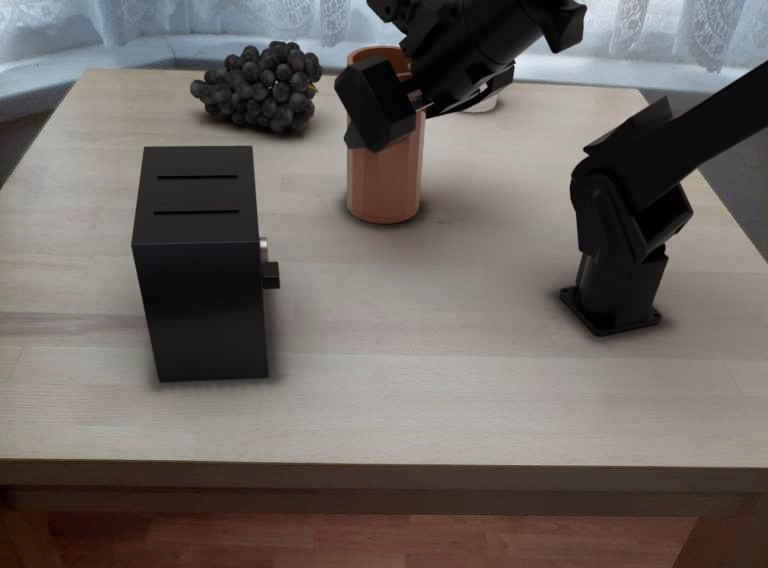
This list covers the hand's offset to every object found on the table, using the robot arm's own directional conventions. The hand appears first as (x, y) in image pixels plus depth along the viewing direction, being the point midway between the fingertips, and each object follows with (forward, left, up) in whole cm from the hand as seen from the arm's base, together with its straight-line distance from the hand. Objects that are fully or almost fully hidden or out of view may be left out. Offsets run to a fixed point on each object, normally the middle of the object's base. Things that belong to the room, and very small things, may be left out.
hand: (373, 131), depth 72 cm
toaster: (-15, +19, -7) cm, 26 cm away
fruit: (+21, +5, -7) cm, 23 cm away
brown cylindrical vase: (-1, -1, -7) cm, 7 cm away
